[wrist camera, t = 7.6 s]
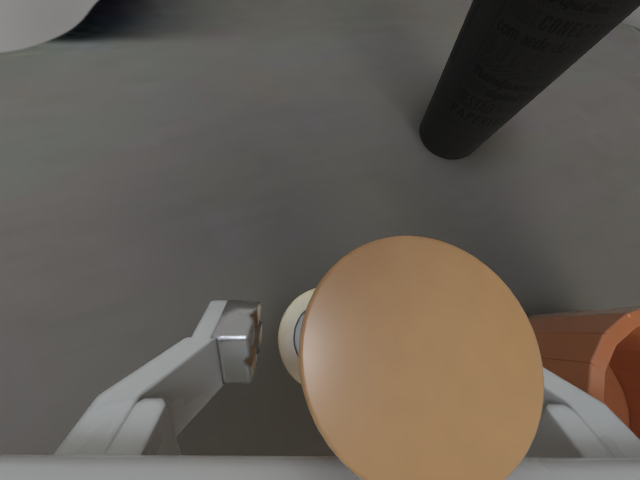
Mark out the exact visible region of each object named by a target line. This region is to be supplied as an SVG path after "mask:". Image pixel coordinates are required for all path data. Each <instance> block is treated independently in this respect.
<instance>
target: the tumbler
mask: <svg viewBox="0 0 640 480" xmlns="http://www.w3.org/2000/svg"><path fill="white" fill-rule="evenodd" d="M527 317H528V319H529V322H530V324H531V326H532V328H533V331H534V334H535V337H536V340H537V343H538V346H539V350H540V355H541V360H542V364H543V367H544V368H545V369H547V370H549V371H550V372H552V373H554V374H555V375H557V376H559V377H560V378H562V379H564V380H565V381H567V382H569V383H571V384H572V385H574V386H576V387H577V388H579V389H581V390H582V391H584V392H586V393H587V394H589V395H591V396H592V397H594V398H596V399H597V400H599V401H601V402H602V403H604V404H605V405H606V406H607V407H608V408H609V409H610V410H611V411H612V412H613V413H614V414H615V415H616V416H617V417H618V418H619V419H620V420H621V421H622V422H623V423H624V424H625V425H626V426H627V427H628V428H629V429H630V430H631V431H632V432H633V433H634V434H635V435H636V436H637V437H638V438H639V439H640V306H639V307H626V308H614V309H601V310H589V311H577V312H564V313H552V314H539V315H531V316H527Z"/></svg>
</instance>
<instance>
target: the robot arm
mask: <svg viewBox="0 0 640 480" xmlns="http://www.w3.org/2000/svg"><path fill="white" fill-rule="evenodd" d="M260 315H261V304H260V302H251V301H232V300H229V301H228V300H213V301H211V302H210V303H209V305H208V307H207V309H206V311H205V313H204V314H203V316H202V318H201V320H200V322H199V324H198V325H197V327H196V329H195V331H194V333H193V335H192V337H186V338H184V339H183V340H181V341H180V342H178V343H177V344H175V345H174V346H172V347H171V348H169V349H168V350H166V351H165V352H163V353H162V354H160V355H159V356H157V357H156V358H154V359H152V360H151V361H149V362H148V363H146V364H145V365H143V366H142V367H140V368H139V369H137V370H136V371H134V372H133V373H131V374H130V375H128V376H127V377H125V378H124V379H122V380H121V381H119V382H118V383H116V384H115V385H113V386H112V387H110V388H109V389H107V390H106V391H104V392H103V393H101V394H100V395H98V396H97V397H96V399H95V400H94V401H93V403H92V404H91V405H90V406H89V408H88V409H87V410H86V412H85V413H84V414H83V416H82V417H81V418H80V420H79V421H78V422H77V424H76V425H75V426H74V428H73V429H72V430H71V432H70V433H69V434H68V435H67V437H66V438H65V439H64V441H63V442H62V443H61V445H60V446H59V447H58V449H57V450H56V451H55V453H54V454H0V480H362V479H361V478H359V477H358V476H356V475H355V474H354V473H353V472H352V471H351V470H350V469H349V468H348V467H346V466H345V465H344V464H343V463H342V462H341V461H340V460H339V459H338V457H337V456H204V455H181V453H180V449H179V446H178V443H177V440H176V437H177V436H178V434H179V433H180V432H181V431H182V430H183V429H184V428H185V427H186V426H187V425H188V423H189V422H190V421H191V420H192V419H193V418H194V417H195V416H196V415H197V414H198V413H199V411H200V410H201V409H202V408H203V407H204V406H205V405H206V404H207V403H208V402H209V400H210V399H211V398H212V397H213V396H214V395H215V394H216V393H217V392H218V391H219V389H220V388H221V387H222V386H223V384H247V383H252V381H253V377H254V373H255V369H256V355H257V354H258V353H259V351H260V346H261V339H262V322H261V321H260V320H259V319H260ZM543 375H544V401H543V407H542V413H541V419H540V422H539V425H538V429H537V432H536V435H535V437H534V439H533V442H532V444H531V446H530V448H529V450H528V452H527V453H526V455H525V456H524V458H523V460H522V461H521V463H520V464H519V465H518V467H517V468H516V469H515V470H514V471H513V472H512V473H511V474H510V475H509V476H508V478H506V479H505V480H640V439H639V438H638V437H637V436H636V435H635V434H634V433H633V432H632V431H631V430H630V429H629V428H628V427H627V426H626V425H625V424H624V423H623V422H622V421H621V420H620V419H619V418H618V417H617V416H616V415H615V414H614V413H613V412H612V411H611V410H610V409H609V408H608V407H607V406H606V405H605V404H604V403H602V402H601V401H599V400H597V399H596V398H594V397H592V396H591V395H589V394H587V393H586V392H584V391H582V390H581V389H579V388H577V387H576V386H574V385H572V384H571V383H569V382H567V381H565V380H564V379H562V378H560V377H559V376H557V375H555V374H554V373H552V372H550V371H549V370H547V369H545V368H544V367H543Z"/></svg>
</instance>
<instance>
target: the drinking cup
mask: <svg viewBox="0 0 640 480" xmlns="http://www.w3.org/2000/svg"><path fill="white" fill-rule="evenodd" d="M639 6H640V0H473V2H472V4H471V7H470V9H469V11H468V14H467V16H466V18H465V21H464V23H463V25H462V28H461V30H460V32H459V35H458V37H457V40H456V42H455V44H454V47H453V49H452V51H451V54H450V56H449V58H448V61H447V63H446V66H445V68H444V70H443V73H442V75H441V77H440V80H439V82H438V84H437V87H436V89H435V91H434V94H433V96H432V99H431V101H430V103H429V106H428V108H427V110H426V113H425V115H424V117H423V120H422V122H421V125H420V136H421V139H422V141H423V143H424V144H425V146H426V147H427V148H428V149H429V150H430V151H432V152H433V153H435V154H436V155H438V156H441V157H444V158H448V159H460V158H463V157H466V156H468V155H469V154H471V153H472V152H473V151H474V150H475V149H477V148H478V147H479V146H480V145H481V144H482V143H483V142H485V141H486V140H487V139H488V138H489V137H490V136H491V135H493V134H494V133H495V132H496V131H497V130H498V129H499V128H501V127H502V126H503V125H504V124H505V123H506V122H507V121H509V120H510V119H511V118H512V117H513V116H514V115H515V114H517V113H518V112H519V111H520V110H521V109H522V108H523V107H525V106H526V105H527V104H528V103H529V102H530V101H531V100H533V99H534V98H535V97H536V96H537V95H538V94H539V93H541V92H542V91H543V90H544V89H545V88H546V87H547V86H549V85H550V84H551V83H552V82H553V81H554V80H555V79H557V78H558V77H559V76H560V75H561V74H562V73H563V72H565V71H566V70H567V69H568V68H569V67H570V66H571V65H573V64H574V63H575V62H576V61H577V60H578V59H579V58H581V57H582V56H583V55H584V54H585V53H586V52H587V51H589V50H590V49H591V48H592V47H593V46H594V45H595V44H597V43H598V42H599V41H600V40H601V39H602V38H603V37H605V36H606V35H607V34H608V33H609V32H610V31H611V30H613V29H614V28H615V27H616V26H617V25H618V24H619V23H621V22H622V21H623V20H624V19H625V18H626V17H627V16H629V15H630V14H631V13H632V12H633V11H634V10H635V9H637V8H638V7H639Z"/></svg>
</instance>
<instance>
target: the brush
mask: <svg viewBox="0 0 640 480" xmlns="http://www.w3.org/2000/svg"><path fill="white" fill-rule="evenodd" d="M278 348H279V353H280V356H281V359H282V362H283V364H284V366H285V368H286V369H287V371H288V372H289V374H290V375H291V376H292V377H293V378H294V379H295V380H296V381H297V382H298V383H300V384H301V385H302V389H303V392H304V396H305V399H306V402H307V406H308V409H309V411H310V413H311V415H312V418H313V420H314V422H315V424H316V427H317V428H318V430H319V432H320V433H321V435H322V437H323V438H324V440H325V442H326V443H327V445H328V446H329V447H330V448H331V450H332V451H333V452H334V453H335V455H336V456H337V457H338V459H339V460H340V461H341V462H342V463H343V464H344V465H345V466H346V467H348V468H349V469H350V470H351V471H352V472H353V473H354V474H355V475H356V476H358V477H359V478H361V479H362V480H505V479H506V478H508V476H509V475H510V474H511V473H512V472H513V471H514V470H515V469H516V468H517V467H518V465H519V464H520V463H521V461H522V460H523V458H524V456H525V455H526V453H527V452H528V450H529V448H530V446H531V444H532V442H533V439H534V437H535V435H536V432H537V429H538V425H539V422H540V419H541V413H542V407H543V401H544V375H543V364H542V360H541V355H540V350H539V346H538V343H537V340H536V337H535V334H534V331H533V328H532V326H531V324H530V322H529V319H528V317H527V315H526V313H525V312H524V310H523V308H522V306H521V305H520V303H519V301H518V300H517V298H516V297H515V296H514V294H513V293H512V292H511V290H510V289H509V288H508V286H507V285H506V284H505V283H504V282H503V281H502V280H501V279H500V277H499V276H498V275H497V274H495V273H494V272H493V271H492V270H491V269H490V268H489V267H488V266H487V265H485V264H484V263H482V262H481V261H480V260H478V259H477V258H476V257H474V256H473V255H471V254H469V253H467V252H466V251H464V250H462V249H460V248H458V247H455V246H453V245H451V244H449V243H446V242H442V241H439V240H436V239H431V238H426V237H420V236H392V237H387V238H382V239H378V240H375V241H372V242H369V243H366V244H364V245H362V246H360V247H358V248H356V249H354V250H352V251H351V252H349V253H348V254H347V255H345V256H344V257H342V258H341V259H340V260H339V261H338V262H337V263H336V264H334V265H333V266H332V267H331V268H330V270H329V271H328V272H327V273H326V274H325V275H324V277H323V278H322V279H321V281H320V282H319V284H318V286H317V287H316V288H314V289H311V290H309V291H307V292H305V293H303V294H301V295H300V296H298V297H297V298H296V299H295V300H294V301H293V302H292V303H291V304H290V305H289V307H288V308H287V310H286V311H285V313H284V315H283V317H282V320H281V322H280V326H279V331H278Z"/></svg>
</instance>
